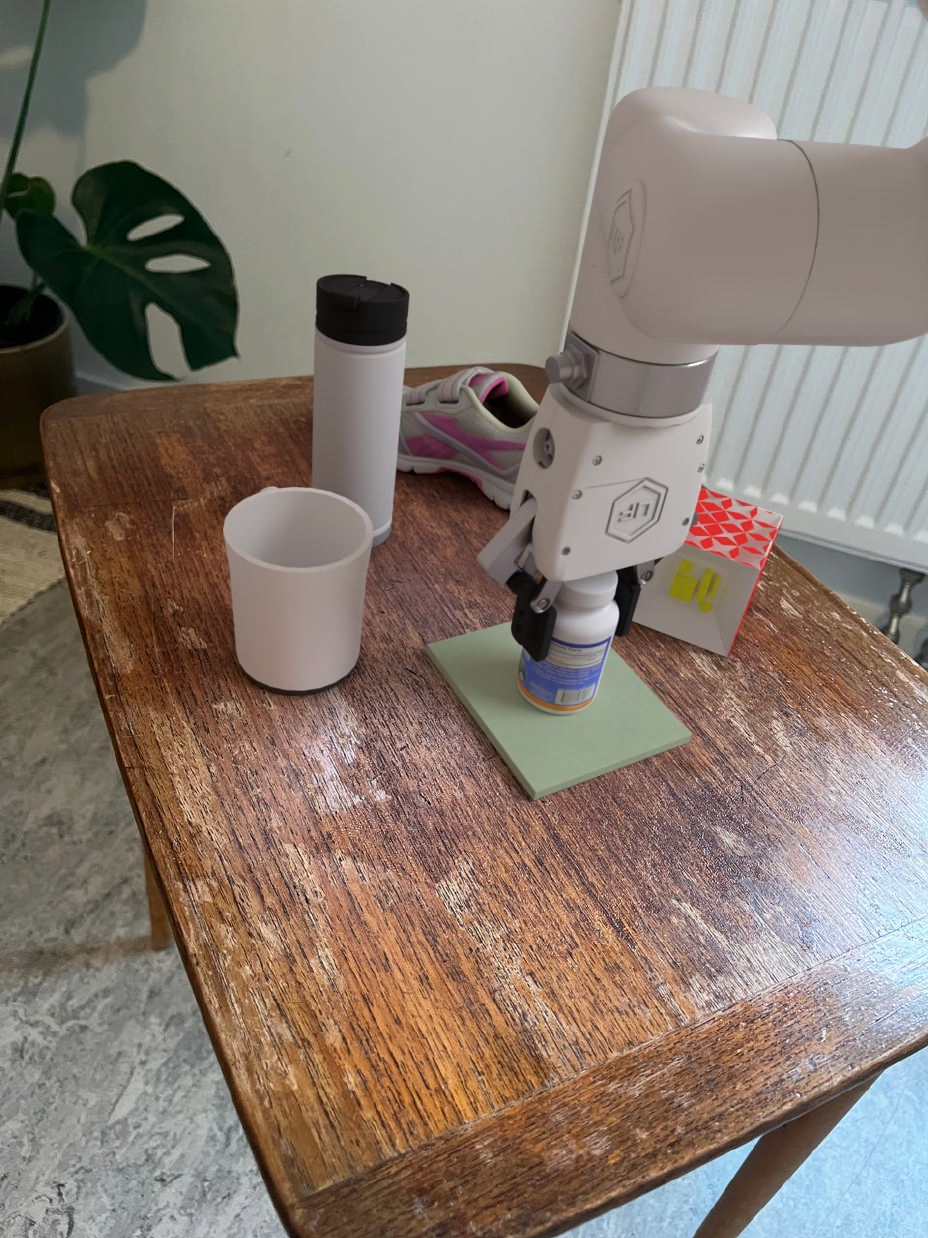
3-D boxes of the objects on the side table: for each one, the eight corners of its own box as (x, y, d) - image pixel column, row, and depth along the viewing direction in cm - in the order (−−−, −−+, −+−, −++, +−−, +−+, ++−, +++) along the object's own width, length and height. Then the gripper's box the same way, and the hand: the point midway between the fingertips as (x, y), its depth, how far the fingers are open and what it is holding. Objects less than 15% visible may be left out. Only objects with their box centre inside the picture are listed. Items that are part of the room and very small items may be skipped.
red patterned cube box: (623, 617, 71) (648, 530, 66) (654, 564, 77) (680, 480, 72) (727, 658, 69) (762, 570, 64) (751, 600, 75) (785, 515, 70)
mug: (386, 681, 63) (397, 555, 57) (254, 716, 59) (249, 585, 53) (326, 584, 70) (329, 461, 64) (205, 609, 67) (195, 482, 60)
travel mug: (295, 540, 74) (296, 284, 61) (331, 499, 79) (339, 253, 66) (370, 563, 73) (388, 307, 60) (402, 519, 78) (424, 274, 65)
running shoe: (374, 407, 92) (381, 307, 85) (592, 483, 85) (615, 381, 79) (323, 446, 85) (325, 341, 79) (554, 531, 79) (576, 425, 73)
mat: (689, 742, 62) (692, 734, 62) (533, 801, 57) (535, 792, 56) (569, 612, 71) (571, 604, 71) (425, 652, 66) (426, 644, 65)
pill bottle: (530, 650, 66) (554, 534, 60) (605, 676, 65) (638, 560, 59) (503, 700, 62) (527, 581, 56) (583, 729, 61) (616, 610, 55)
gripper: (532, 426, 43) (480, 712, 54) (807, 378, 50) (711, 639, 62) (452, 353, 48) (420, 631, 59) (714, 320, 55) (641, 572, 67)
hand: (569, 632), depth 60 cm, fingers closed on pill bottle, 5 cm apart
